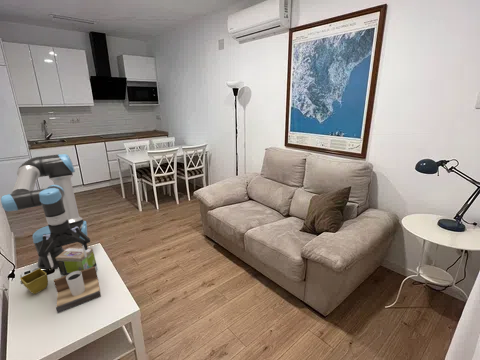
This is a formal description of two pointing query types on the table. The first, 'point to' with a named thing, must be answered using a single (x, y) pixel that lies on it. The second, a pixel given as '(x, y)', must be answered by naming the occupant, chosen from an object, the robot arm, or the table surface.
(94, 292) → the wooden wall shelf
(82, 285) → the white paper cup
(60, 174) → the robot arm
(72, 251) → the tea box
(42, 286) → the flower pot
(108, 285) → the table surface
